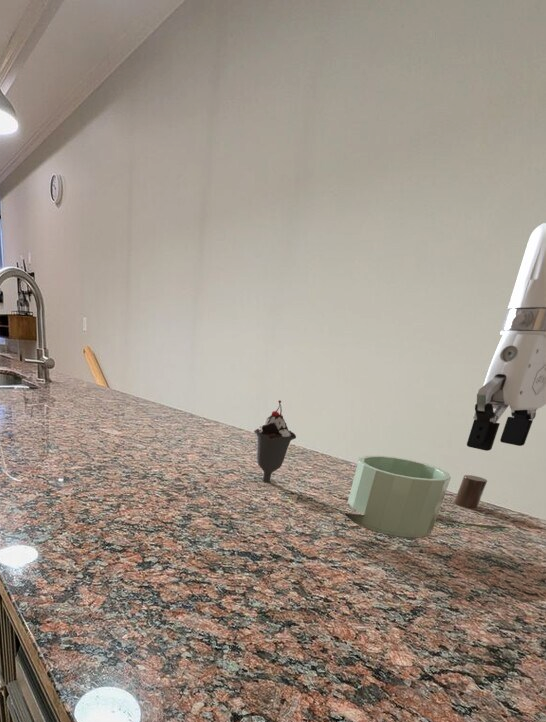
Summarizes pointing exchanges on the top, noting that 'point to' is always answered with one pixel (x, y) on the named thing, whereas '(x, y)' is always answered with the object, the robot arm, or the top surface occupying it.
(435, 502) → the canister
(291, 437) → the sundae
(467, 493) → the lid
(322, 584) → the top surface
